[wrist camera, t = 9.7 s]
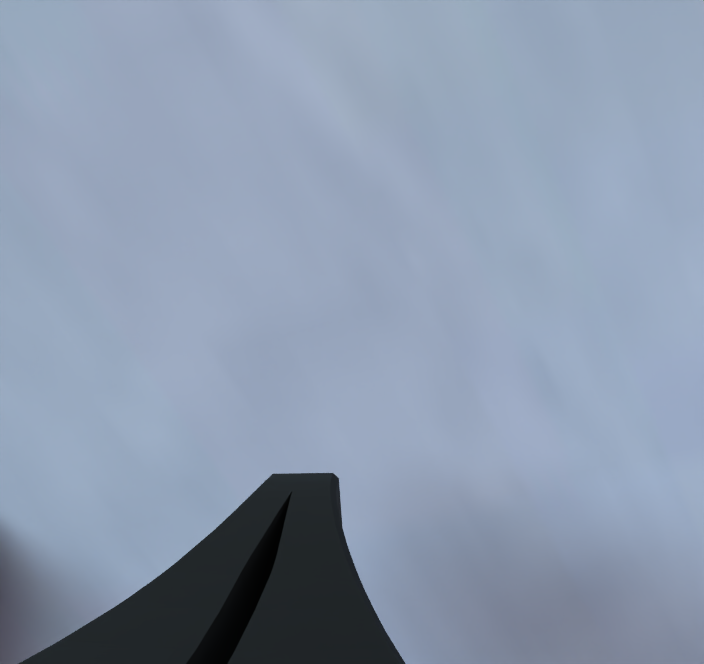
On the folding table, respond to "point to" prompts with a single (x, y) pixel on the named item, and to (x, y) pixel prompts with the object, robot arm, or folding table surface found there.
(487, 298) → the folding table surface
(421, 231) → the folding table surface
